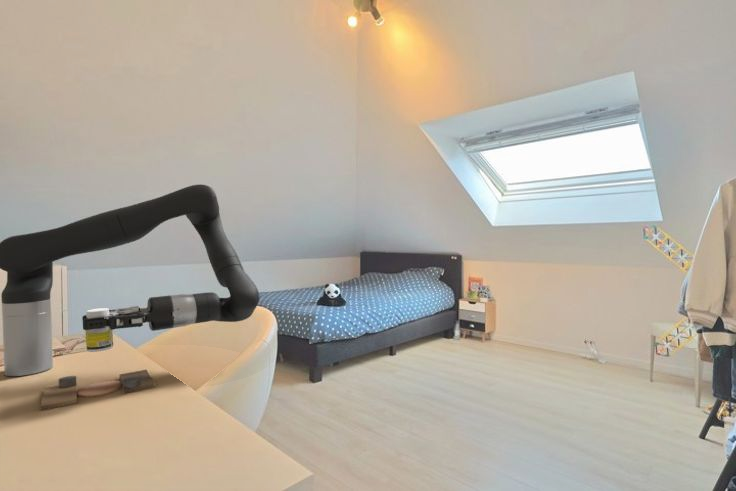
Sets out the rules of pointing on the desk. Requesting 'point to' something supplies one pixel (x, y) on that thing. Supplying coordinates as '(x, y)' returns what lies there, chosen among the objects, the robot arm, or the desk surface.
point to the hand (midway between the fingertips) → (83, 322)
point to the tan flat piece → (92, 388)
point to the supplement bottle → (98, 333)
